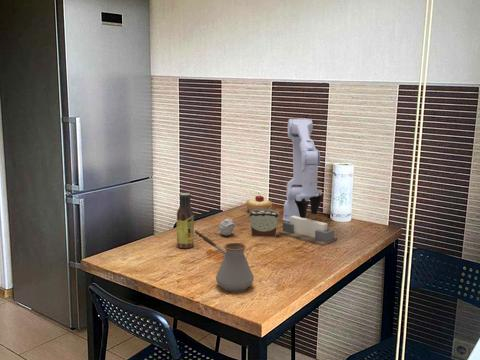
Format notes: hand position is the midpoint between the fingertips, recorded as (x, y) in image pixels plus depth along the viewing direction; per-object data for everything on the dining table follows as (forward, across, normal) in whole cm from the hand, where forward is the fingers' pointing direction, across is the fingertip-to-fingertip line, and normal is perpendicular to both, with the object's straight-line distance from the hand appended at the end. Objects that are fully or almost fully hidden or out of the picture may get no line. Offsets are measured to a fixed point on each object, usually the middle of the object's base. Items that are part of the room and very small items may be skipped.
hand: (308, 215), depth 208 cm
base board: (+9, 0, 0) cm, 9 cm away
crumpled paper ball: (+9, -21, +24) cm, 33 cm away
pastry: (+9, +15, +38) cm, 42 cm away
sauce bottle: (+9, -41, +26) cm, 49 cm away
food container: (+9, -10, +14) cm, 19 cm away
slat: (+8, 0, 0) cm, 8 cm away
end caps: (+9, 0, 0) cm, 9 cm away
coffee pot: (+9, -56, -8) cm, 57 cm away
